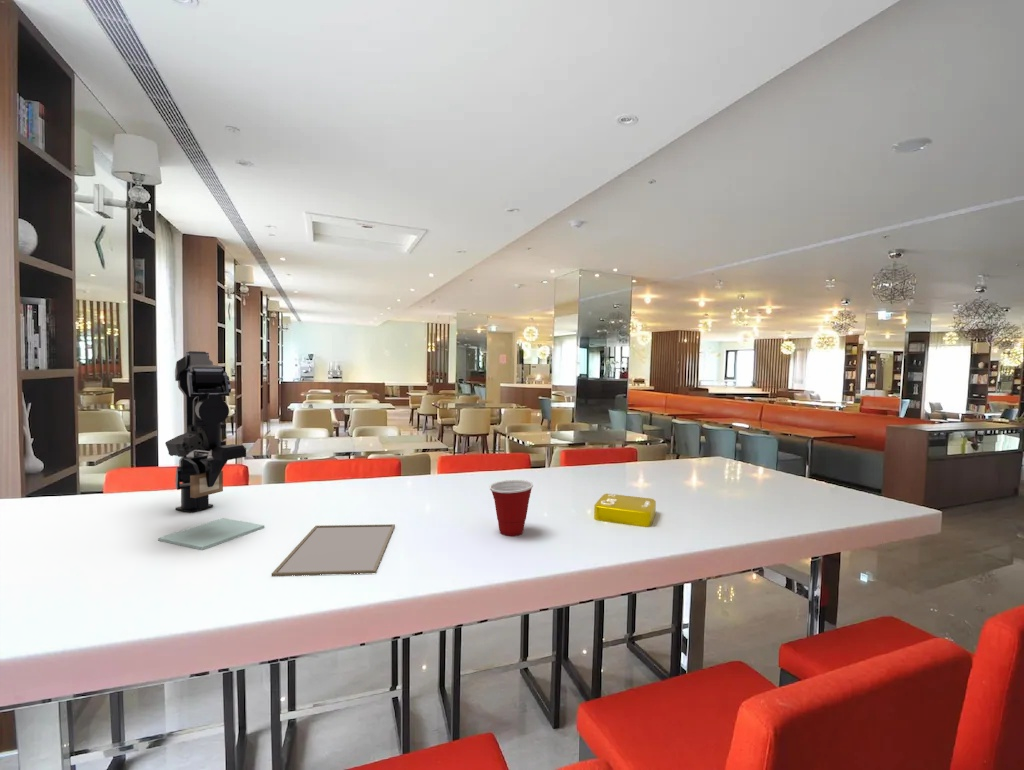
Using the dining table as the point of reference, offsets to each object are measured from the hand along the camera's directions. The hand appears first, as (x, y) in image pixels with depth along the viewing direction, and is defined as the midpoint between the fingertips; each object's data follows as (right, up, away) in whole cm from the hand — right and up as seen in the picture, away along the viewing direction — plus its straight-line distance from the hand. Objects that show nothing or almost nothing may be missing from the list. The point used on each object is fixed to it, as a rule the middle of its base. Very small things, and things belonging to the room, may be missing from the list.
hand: (207, 486), depth 114 cm
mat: (+2, -11, 0) cm, 11 cm away
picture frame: (+34, -13, -8) cm, 37 cm away
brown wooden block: (0, -2, 0) cm, 2 cm away
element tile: (+103, -13, +20) cm, 106 cm away
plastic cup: (+71, -13, +5) cm, 72 cm away
